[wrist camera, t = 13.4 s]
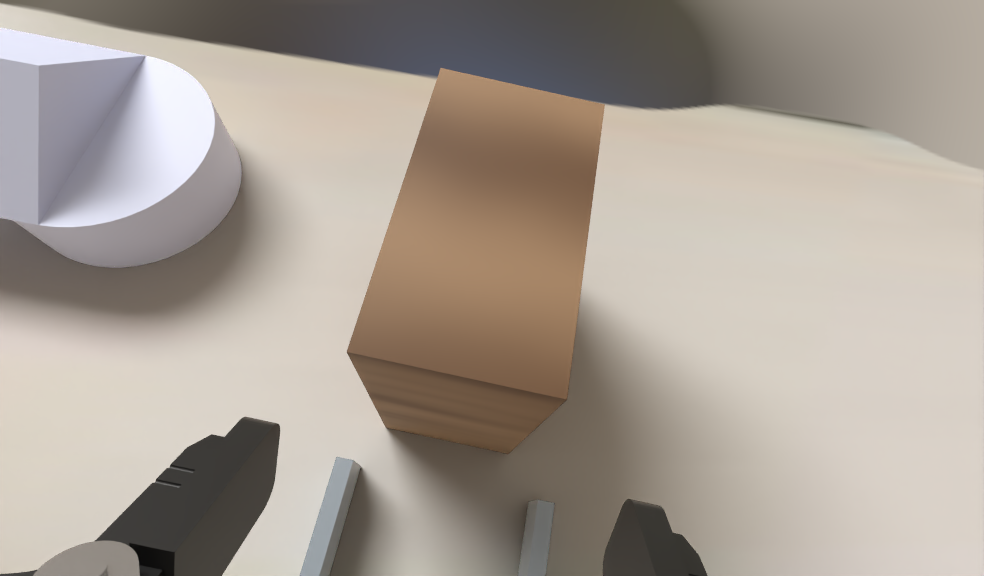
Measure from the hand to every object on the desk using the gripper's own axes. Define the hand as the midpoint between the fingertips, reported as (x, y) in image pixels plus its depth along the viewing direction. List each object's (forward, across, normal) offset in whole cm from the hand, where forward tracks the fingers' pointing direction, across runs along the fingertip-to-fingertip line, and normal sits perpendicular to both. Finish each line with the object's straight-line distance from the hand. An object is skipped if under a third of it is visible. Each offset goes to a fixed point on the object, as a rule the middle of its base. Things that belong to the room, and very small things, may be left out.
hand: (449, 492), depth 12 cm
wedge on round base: (+14, -19, +1) cm, 24 cm away
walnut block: (+11, 0, -1) cm, 11 cm away
